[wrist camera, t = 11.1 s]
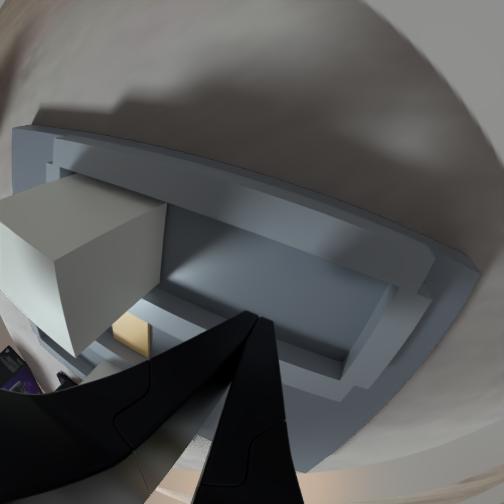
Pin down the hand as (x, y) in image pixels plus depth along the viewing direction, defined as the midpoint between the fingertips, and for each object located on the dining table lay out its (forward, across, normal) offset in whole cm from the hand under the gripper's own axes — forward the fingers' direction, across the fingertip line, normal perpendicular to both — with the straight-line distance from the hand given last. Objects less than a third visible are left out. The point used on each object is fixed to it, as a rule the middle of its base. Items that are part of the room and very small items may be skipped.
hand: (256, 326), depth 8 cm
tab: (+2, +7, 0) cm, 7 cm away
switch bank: (+4, +6, +5) cm, 9 cm away
